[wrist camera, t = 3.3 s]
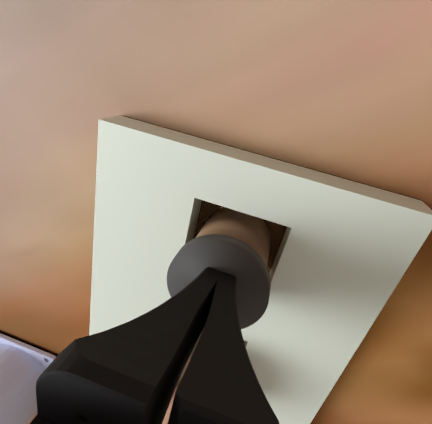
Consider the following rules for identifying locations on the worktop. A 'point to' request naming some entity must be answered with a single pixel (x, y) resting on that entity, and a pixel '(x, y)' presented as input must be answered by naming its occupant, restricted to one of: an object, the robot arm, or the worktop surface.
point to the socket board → (284, 261)
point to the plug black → (229, 260)
